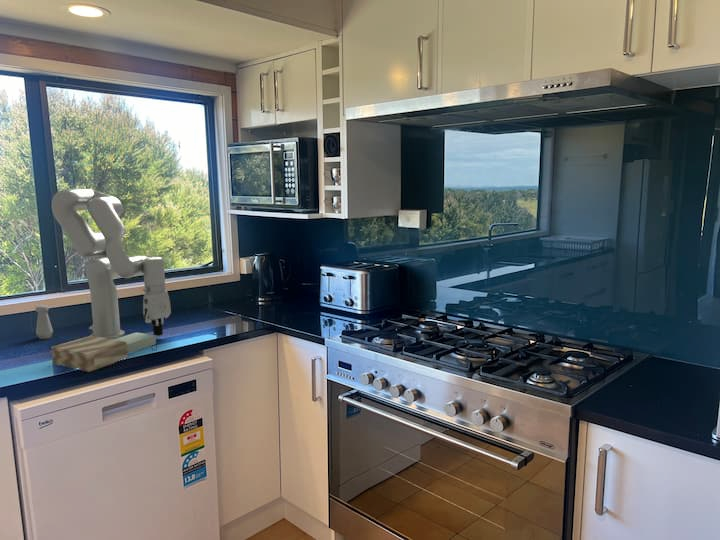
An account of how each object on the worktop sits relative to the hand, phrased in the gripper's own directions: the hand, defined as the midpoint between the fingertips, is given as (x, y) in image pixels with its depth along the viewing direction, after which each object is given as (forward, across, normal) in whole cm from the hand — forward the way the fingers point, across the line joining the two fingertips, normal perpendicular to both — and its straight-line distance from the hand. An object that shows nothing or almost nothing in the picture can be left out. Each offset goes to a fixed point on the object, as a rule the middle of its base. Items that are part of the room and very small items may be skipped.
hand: (158, 334), depth 209 cm
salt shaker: (+2, -18, +42) cm, 46 cm away
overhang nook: (+2, -30, 0) cm, 30 cm away
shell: (+2, -12, 0) cm, 13 cm away
